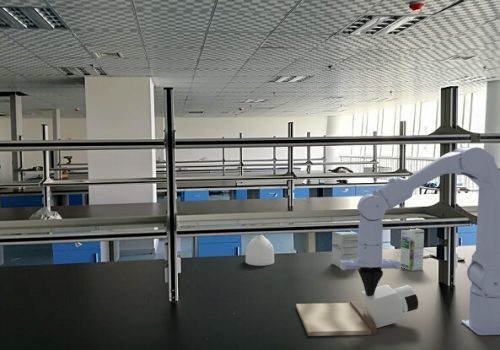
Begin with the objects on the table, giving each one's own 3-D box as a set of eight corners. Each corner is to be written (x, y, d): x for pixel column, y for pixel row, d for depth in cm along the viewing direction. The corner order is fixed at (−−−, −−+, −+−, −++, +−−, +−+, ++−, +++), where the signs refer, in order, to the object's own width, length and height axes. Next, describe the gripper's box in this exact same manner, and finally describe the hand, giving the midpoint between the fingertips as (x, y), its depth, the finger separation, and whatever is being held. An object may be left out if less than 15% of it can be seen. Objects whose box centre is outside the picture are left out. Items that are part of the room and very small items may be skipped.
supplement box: (331, 263, 163) (331, 230, 163) (348, 262, 166) (349, 229, 165) (340, 269, 156) (341, 234, 156) (359, 267, 159) (359, 233, 158)
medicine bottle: (367, 317, 112) (412, 304, 112) (376, 328, 105) (424, 315, 105) (360, 291, 112) (405, 278, 112) (369, 300, 105) (417, 287, 105)
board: (354, 306, 120) (354, 300, 120) (376, 334, 102) (376, 327, 102) (296, 307, 119) (296, 301, 119) (308, 336, 101) (308, 328, 101)
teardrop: (239, 261, 167) (239, 230, 166) (261, 256, 174) (261, 227, 174) (258, 267, 159) (258, 234, 158) (280, 262, 166) (280, 231, 165)
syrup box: (399, 267, 159) (400, 228, 158) (411, 265, 161) (412, 226, 160) (411, 271, 153) (412, 230, 152) (423, 269, 156) (424, 229, 155)
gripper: (393, 239, 112) (392, 291, 113) (337, 240, 111) (336, 292, 112) (404, 245, 105) (402, 301, 106) (344, 246, 104) (343, 302, 105)
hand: (369, 297), depth 108 cm, fingers closed
